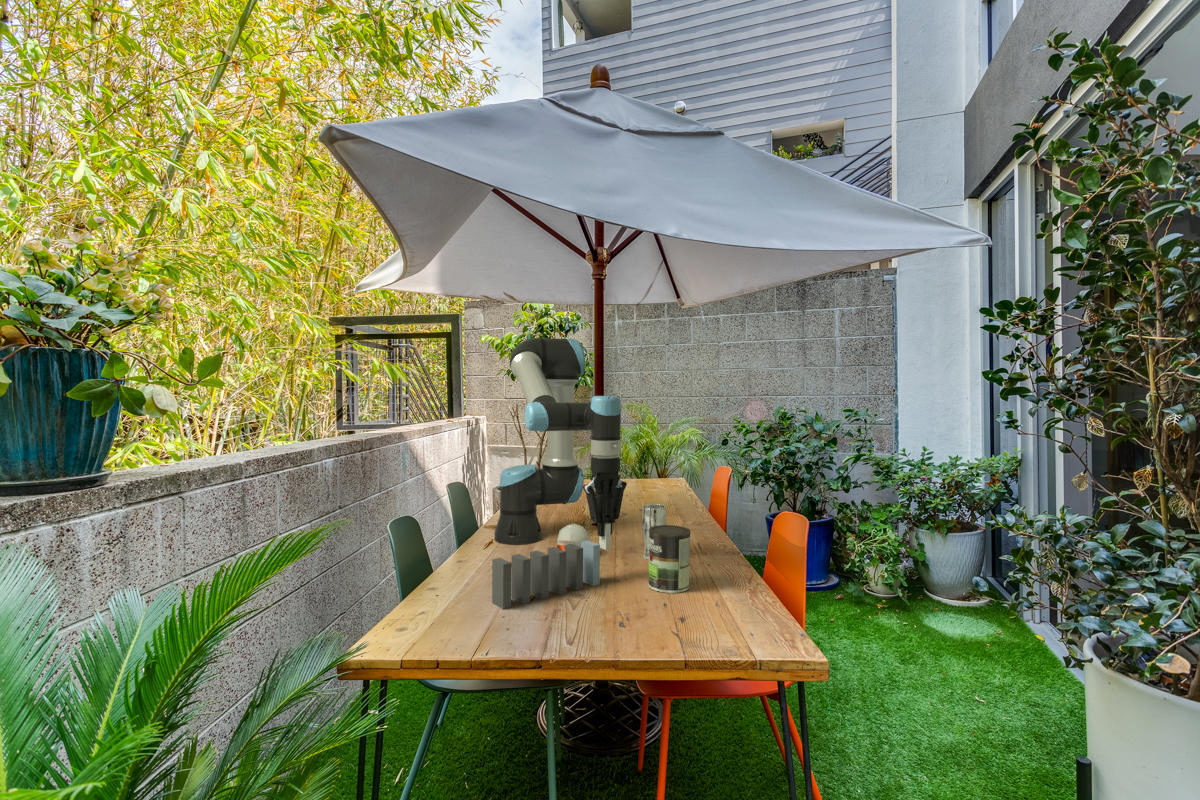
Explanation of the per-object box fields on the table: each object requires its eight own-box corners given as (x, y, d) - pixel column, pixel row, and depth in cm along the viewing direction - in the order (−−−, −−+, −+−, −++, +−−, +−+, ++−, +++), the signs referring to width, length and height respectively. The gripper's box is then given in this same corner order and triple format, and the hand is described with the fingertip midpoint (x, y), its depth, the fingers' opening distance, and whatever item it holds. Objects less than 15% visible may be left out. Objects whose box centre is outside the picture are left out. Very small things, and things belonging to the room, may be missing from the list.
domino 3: (541, 599, 137) (541, 556, 137) (529, 593, 141) (530, 551, 140) (548, 597, 138) (548, 555, 138) (536, 591, 142) (537, 550, 142)
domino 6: (587, 579, 151) (587, 540, 151) (599, 584, 148) (599, 544, 147) (581, 580, 150) (581, 541, 150) (593, 586, 146) (593, 545, 146)
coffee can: (659, 595, 140) (659, 536, 140) (641, 582, 150) (641, 526, 149) (697, 590, 143) (698, 533, 143) (677, 577, 153) (678, 523, 153)
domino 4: (559, 595, 140) (559, 552, 140) (547, 589, 144) (547, 548, 144) (566, 593, 141) (566, 551, 141) (554, 587, 145) (554, 546, 145)
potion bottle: (581, 555, 178) (570, 577, 163) (555, 536, 178) (541, 555, 164) (598, 532, 176) (588, 552, 161) (572, 512, 176) (560, 530, 162)
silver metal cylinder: (665, 554, 174) (666, 504, 174) (665, 561, 167) (666, 508, 167) (641, 554, 175) (642, 503, 174) (641, 560, 168) (641, 508, 167)
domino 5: (576, 590, 143) (576, 549, 143) (564, 585, 147) (564, 544, 147) (582, 588, 144) (583, 548, 144) (570, 583, 148) (571, 543, 148)
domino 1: (503, 609, 130) (503, 564, 130) (492, 602, 134) (492, 559, 134) (511, 607, 132) (511, 562, 132) (499, 601, 136) (500, 557, 135)
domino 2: (522, 604, 134) (522, 560, 133) (511, 598, 138) (511, 555, 137) (530, 602, 135) (530, 558, 135) (518, 596, 139) (519, 553, 139)
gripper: (594, 459, 144) (594, 556, 145) (634, 456, 152) (633, 547, 153) (576, 456, 150) (575, 549, 150) (615, 453, 158) (614, 541, 159)
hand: (604, 548), depth 152 cm, fingers closed
